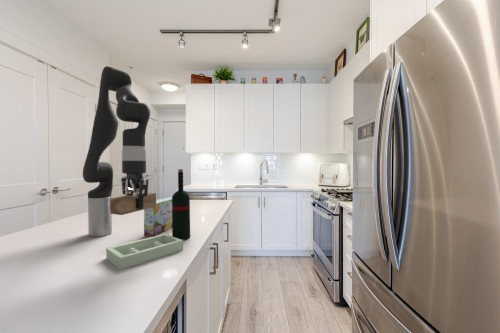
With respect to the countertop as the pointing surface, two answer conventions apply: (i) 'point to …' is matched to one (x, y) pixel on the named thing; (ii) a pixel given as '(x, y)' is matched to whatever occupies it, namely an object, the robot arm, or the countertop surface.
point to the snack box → (158, 217)
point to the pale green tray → (143, 250)
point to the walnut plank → (130, 203)
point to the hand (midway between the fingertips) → (134, 207)
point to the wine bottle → (181, 211)
